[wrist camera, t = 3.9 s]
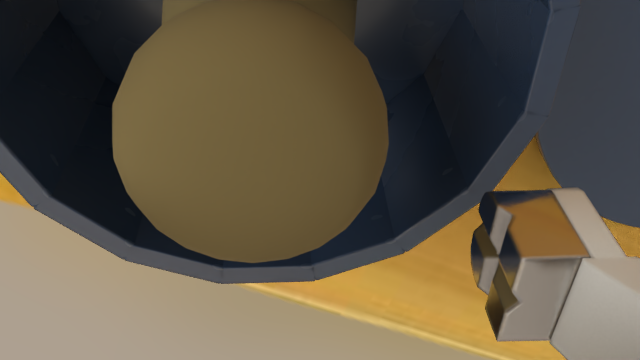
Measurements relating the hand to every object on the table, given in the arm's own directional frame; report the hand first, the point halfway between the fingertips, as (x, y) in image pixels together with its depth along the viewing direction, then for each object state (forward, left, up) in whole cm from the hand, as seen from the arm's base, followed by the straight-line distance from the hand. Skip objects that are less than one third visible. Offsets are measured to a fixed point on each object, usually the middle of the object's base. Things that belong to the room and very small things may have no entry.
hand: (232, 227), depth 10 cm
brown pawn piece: (0, 0, -12) cm, 12 cm away
